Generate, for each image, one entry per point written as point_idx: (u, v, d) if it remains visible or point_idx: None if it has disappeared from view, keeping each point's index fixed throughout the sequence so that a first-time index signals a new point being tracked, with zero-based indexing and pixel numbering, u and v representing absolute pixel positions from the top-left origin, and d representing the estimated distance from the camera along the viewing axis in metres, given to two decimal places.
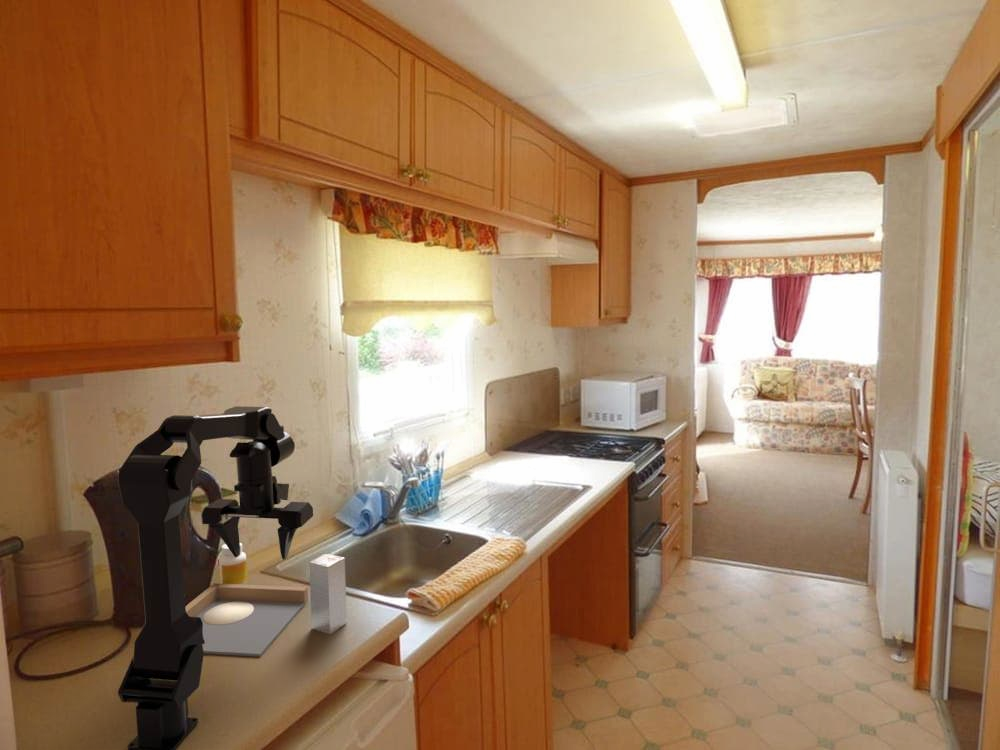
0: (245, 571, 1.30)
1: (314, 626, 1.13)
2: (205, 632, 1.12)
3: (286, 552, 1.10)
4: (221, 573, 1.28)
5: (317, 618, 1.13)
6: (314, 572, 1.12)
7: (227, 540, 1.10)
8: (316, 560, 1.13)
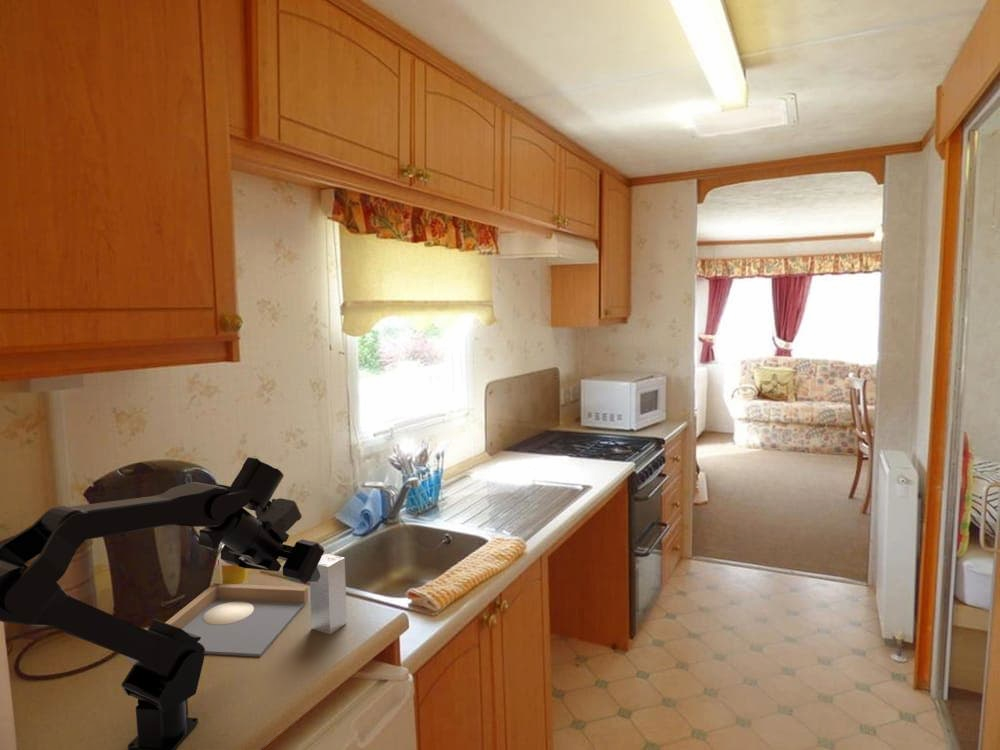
0: (245, 571, 1.30)
1: (314, 626, 1.13)
2: (205, 632, 1.12)
3: (315, 578, 1.04)
4: (221, 573, 1.28)
5: (317, 618, 1.13)
6: None
7: None
8: None
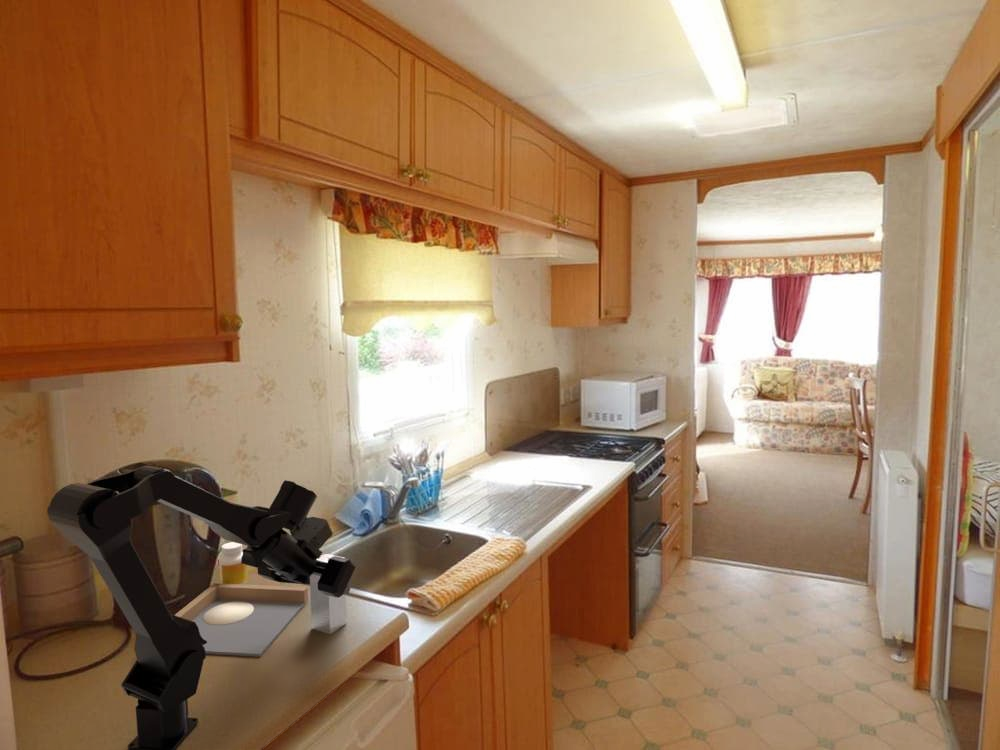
0: (245, 571, 1.30)
1: (314, 626, 1.13)
2: (205, 632, 1.12)
3: (346, 591, 1.11)
4: (221, 573, 1.28)
5: (317, 618, 1.13)
6: None
7: None
8: None
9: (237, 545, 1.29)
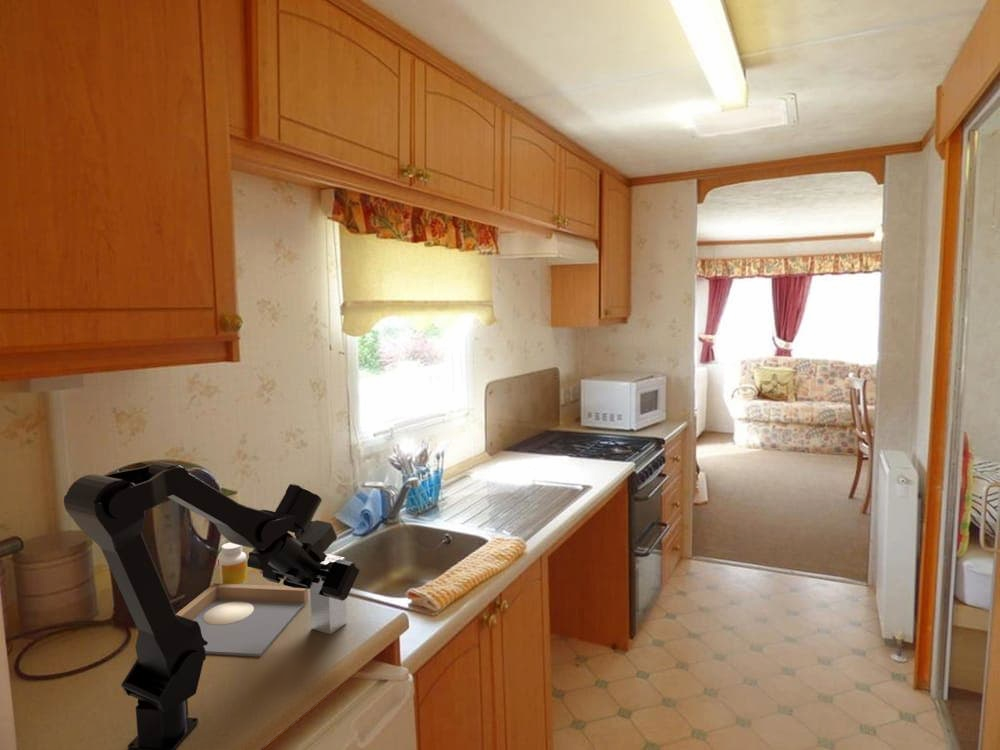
0: (245, 571, 1.30)
1: (314, 626, 1.14)
2: (205, 632, 1.12)
3: None
4: (221, 573, 1.28)
5: (317, 618, 1.13)
6: None
7: None
8: None
9: (237, 545, 1.29)
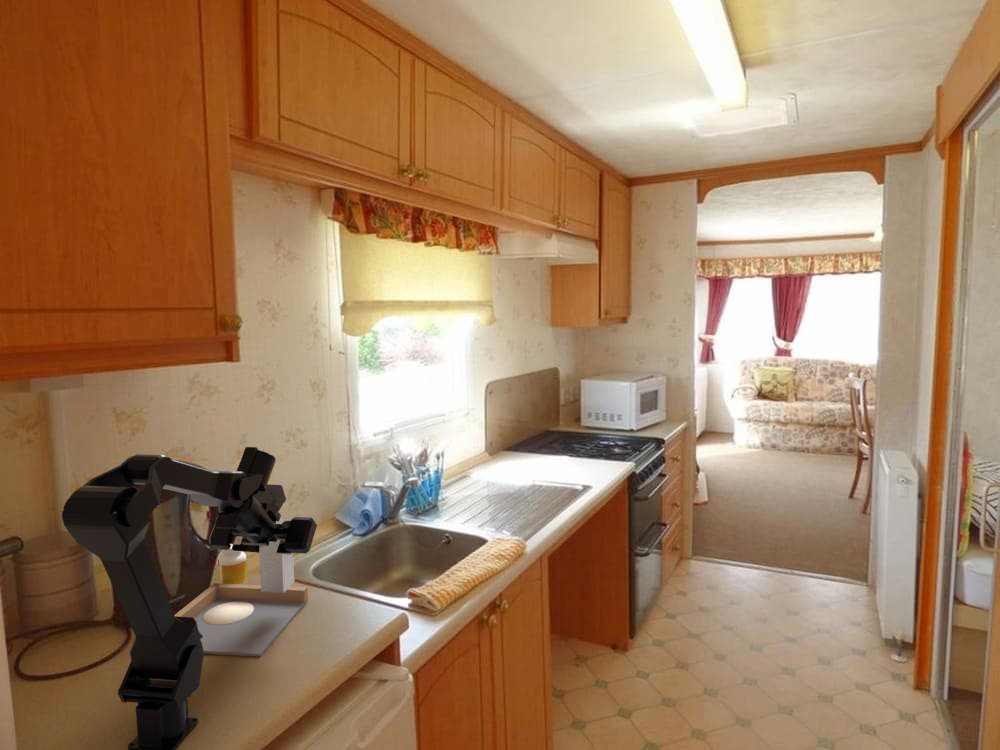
0: (245, 571, 1.30)
1: (264, 588, 1.16)
2: (205, 632, 1.12)
3: None
4: (221, 573, 1.28)
5: (268, 580, 1.16)
6: None
7: None
8: None
9: None
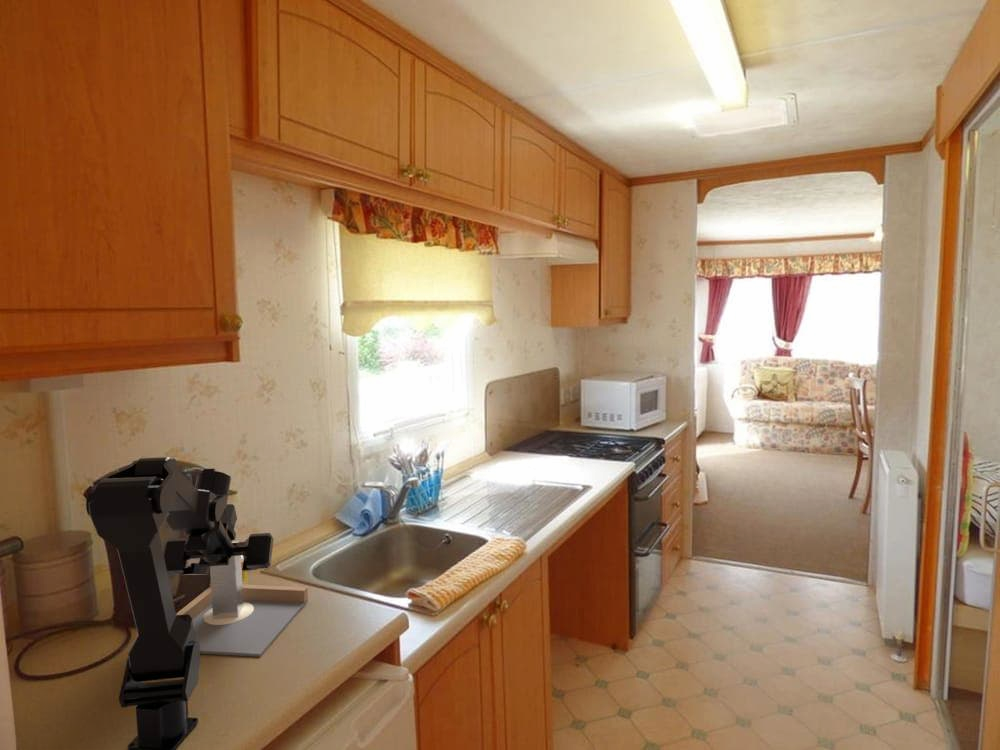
0: None
1: (217, 615, 1.16)
2: (205, 632, 1.12)
3: None
4: None
5: (220, 606, 1.16)
6: None
7: (198, 574, 1.14)
8: None
9: None
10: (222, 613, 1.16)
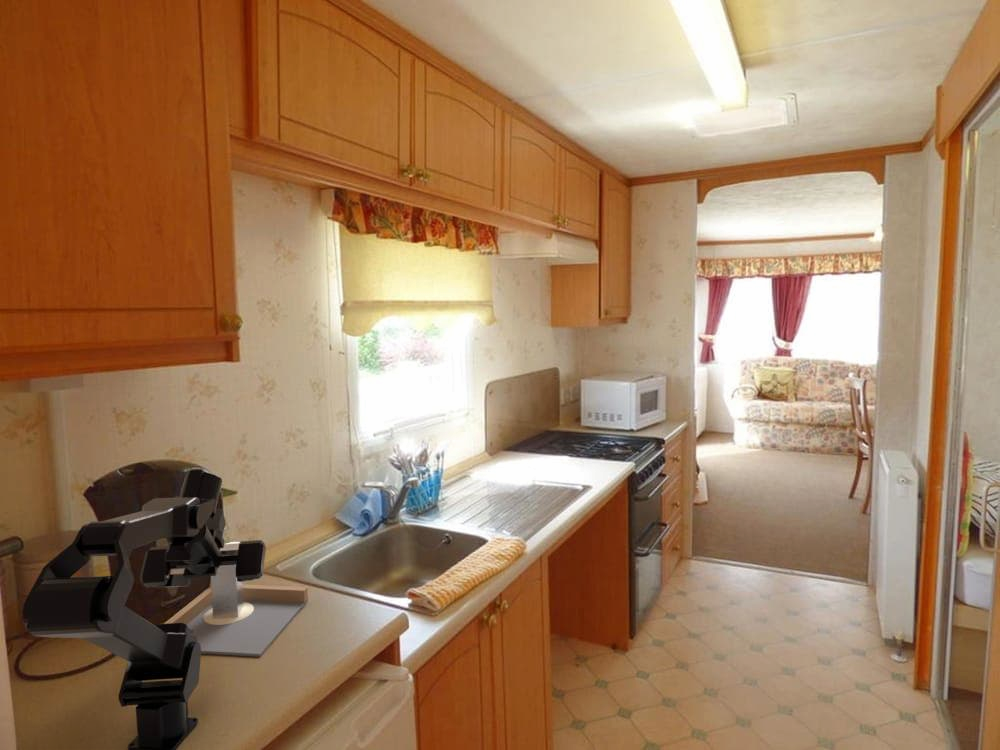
0: None
1: (217, 615, 1.16)
2: (205, 632, 1.12)
3: None
4: None
5: (220, 606, 1.16)
6: None
7: (178, 586, 1.04)
8: None
9: None
10: (222, 613, 1.16)
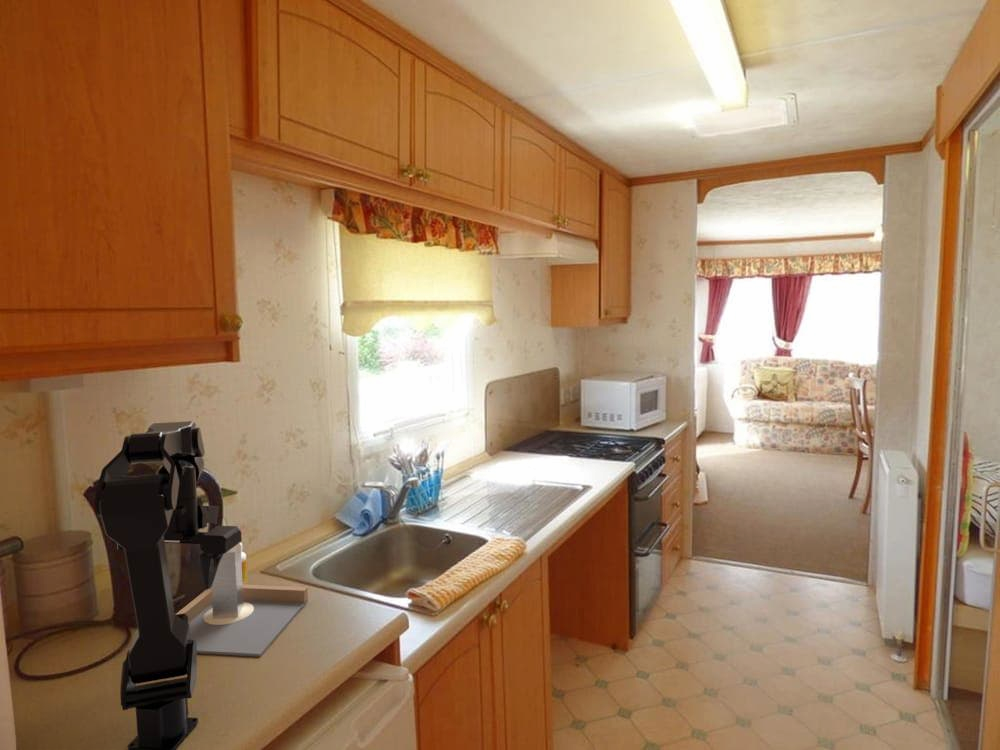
0: (245, 571, 1.30)
1: (217, 615, 1.16)
2: (205, 632, 1.12)
3: (210, 581, 1.01)
4: None
5: (220, 606, 1.16)
6: None
7: None
8: None
9: None
10: (222, 613, 1.16)
